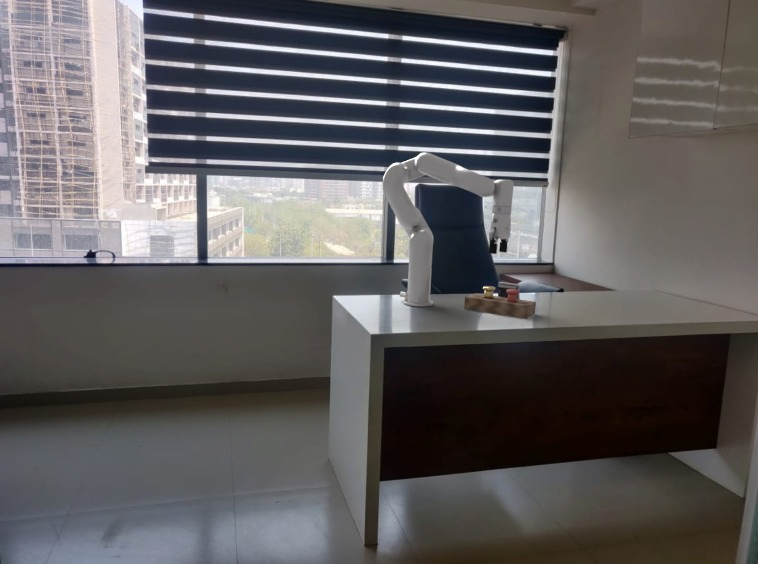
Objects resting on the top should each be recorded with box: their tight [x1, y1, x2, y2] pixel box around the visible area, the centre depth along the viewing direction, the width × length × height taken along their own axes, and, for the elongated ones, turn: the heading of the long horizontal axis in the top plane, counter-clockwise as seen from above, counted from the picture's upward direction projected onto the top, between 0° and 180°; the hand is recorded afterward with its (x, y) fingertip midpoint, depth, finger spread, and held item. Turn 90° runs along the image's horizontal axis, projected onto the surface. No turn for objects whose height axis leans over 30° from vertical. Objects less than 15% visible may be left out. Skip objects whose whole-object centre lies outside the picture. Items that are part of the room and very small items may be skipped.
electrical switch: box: [497, 281, 521, 300], centre depth 242 cm, size 9×5×9 cm, turn 57°
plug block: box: [463, 292, 537, 320], centre depth 225 cm, size 26×11×5 cm, turn 58°
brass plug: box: [482, 285, 496, 299], centre depth 227 cm, size 5×5×6 cm
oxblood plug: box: [506, 289, 520, 303], centre depth 222 cm, size 5×5×6 cm
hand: (497, 252), depth 227 cm, fingers open, 9 cm apart
